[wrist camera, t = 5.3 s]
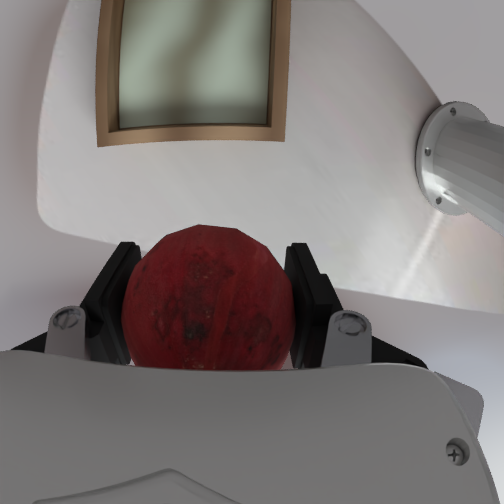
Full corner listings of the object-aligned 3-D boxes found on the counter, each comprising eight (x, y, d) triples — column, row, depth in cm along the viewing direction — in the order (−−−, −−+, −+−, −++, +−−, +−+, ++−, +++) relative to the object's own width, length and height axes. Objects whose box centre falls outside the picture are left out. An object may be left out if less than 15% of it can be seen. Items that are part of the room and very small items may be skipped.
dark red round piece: (149, 190, 11) (48, 326, 4) (290, 202, 12) (360, 352, 5) (154, 304, 14) (114, 451, 7) (269, 314, 15) (291, 465, 8)
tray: (283, -13, 17) (291, -28, 14) (276, 136, 23) (284, 141, 20) (118, -5, 16) (104, -17, 12) (113, 140, 22) (97, 147, 19)
